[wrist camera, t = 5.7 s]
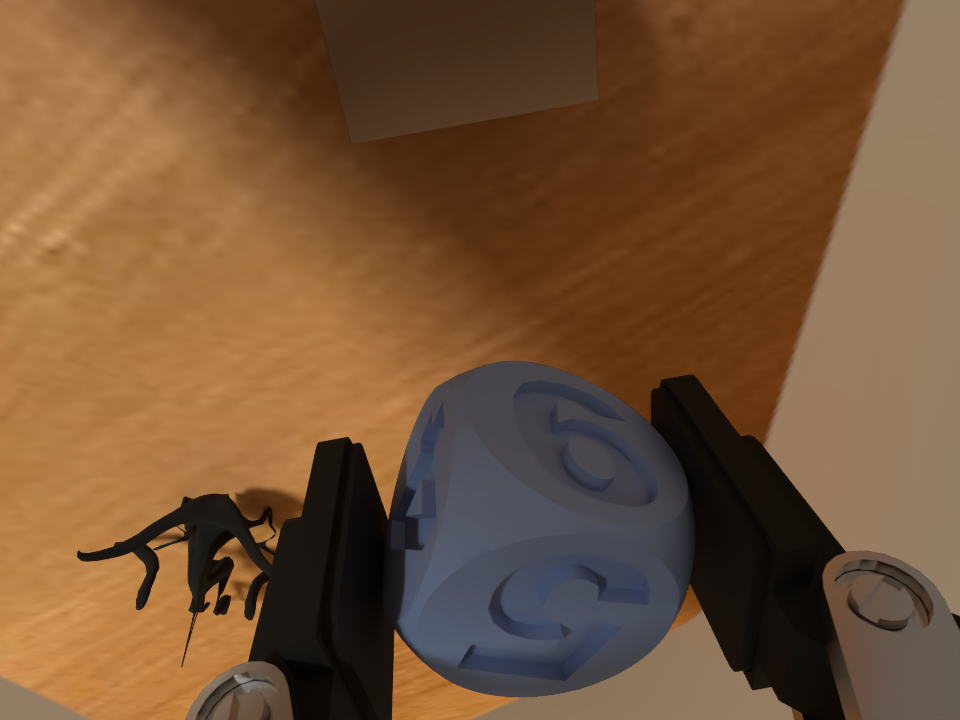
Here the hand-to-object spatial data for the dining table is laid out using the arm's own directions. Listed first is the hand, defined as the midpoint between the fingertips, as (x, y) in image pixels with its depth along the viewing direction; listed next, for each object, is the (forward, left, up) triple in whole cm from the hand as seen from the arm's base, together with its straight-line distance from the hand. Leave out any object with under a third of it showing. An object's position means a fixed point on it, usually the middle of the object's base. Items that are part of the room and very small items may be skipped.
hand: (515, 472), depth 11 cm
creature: (+9, -12, -9) cm, 17 cm away
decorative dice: (0, 0, -1) cm, 1 cm away
